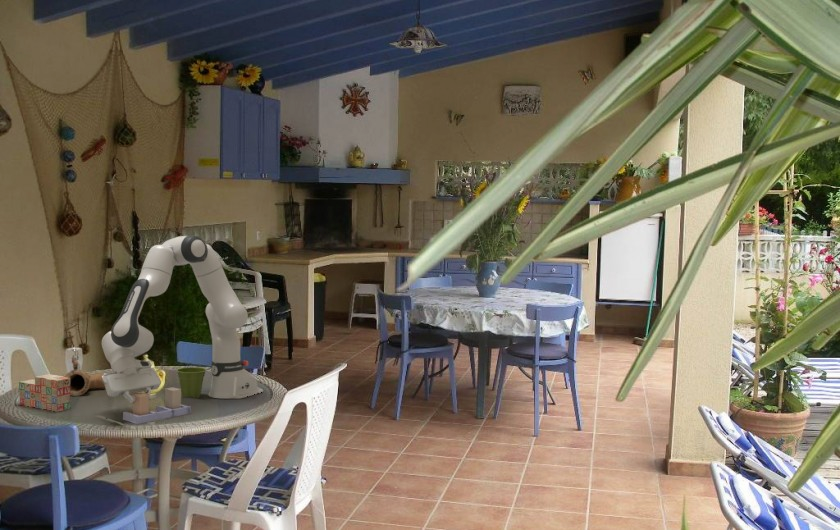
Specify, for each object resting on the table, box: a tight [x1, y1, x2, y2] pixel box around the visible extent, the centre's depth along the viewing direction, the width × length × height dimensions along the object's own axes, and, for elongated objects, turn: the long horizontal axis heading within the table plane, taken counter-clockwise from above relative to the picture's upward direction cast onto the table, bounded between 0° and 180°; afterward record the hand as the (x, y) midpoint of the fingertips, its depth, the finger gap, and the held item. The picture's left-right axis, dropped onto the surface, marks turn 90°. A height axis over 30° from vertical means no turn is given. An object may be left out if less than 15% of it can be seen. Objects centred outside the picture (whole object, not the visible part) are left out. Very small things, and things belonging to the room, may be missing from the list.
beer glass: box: [64, 347, 84, 374], centre depth 383 cm, size 7×7×15 cm
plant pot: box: [175, 366, 207, 399], centre depth 360 cm, size 12×12×11 cm
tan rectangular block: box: [131, 392, 150, 416], centre depth 320 cm, size 4×5×9 cm
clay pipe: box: [64, 369, 106, 397], centre depth 366 cm, size 19×11×15 cm
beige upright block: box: [164, 386, 182, 409], centre depth 330 cm, size 4×5×9 cm
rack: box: [122, 403, 192, 425], centre depth 325 cm, size 22×10×4 cm, turn 139°
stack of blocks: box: [18, 373, 71, 413], centre depth 340 cm, size 21×6×12 cm, turn 61°
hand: (141, 401), depth 319 cm, fingers open, 5 cm apart
